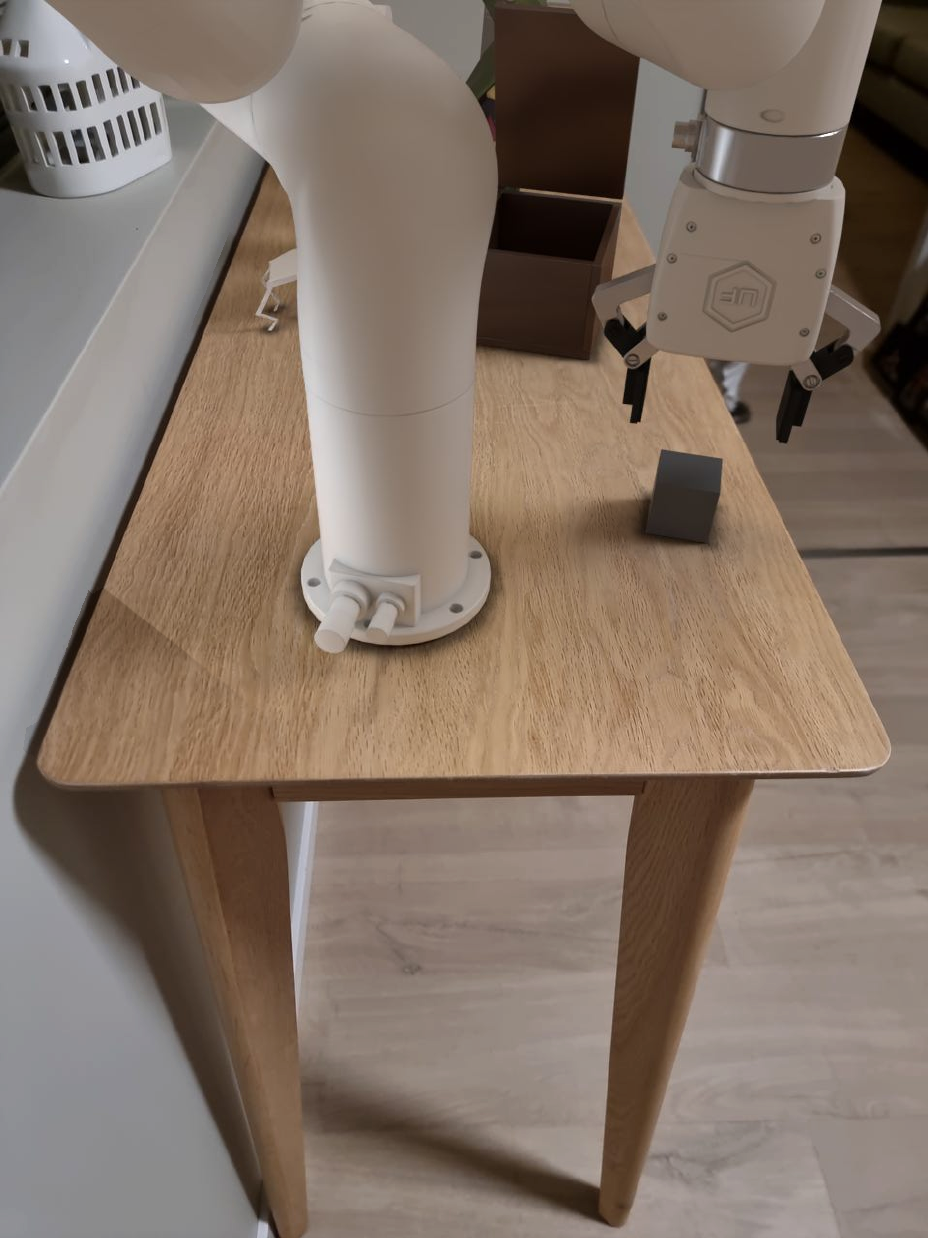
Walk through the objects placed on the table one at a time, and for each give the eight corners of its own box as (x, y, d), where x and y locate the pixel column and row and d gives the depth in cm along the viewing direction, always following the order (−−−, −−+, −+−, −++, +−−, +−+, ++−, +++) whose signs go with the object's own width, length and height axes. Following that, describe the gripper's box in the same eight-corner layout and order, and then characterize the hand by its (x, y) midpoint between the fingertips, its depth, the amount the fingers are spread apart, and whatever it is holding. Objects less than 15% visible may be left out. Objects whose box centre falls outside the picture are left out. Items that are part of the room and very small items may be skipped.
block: (707, 543, 66) (720, 493, 63) (645, 533, 67) (655, 483, 64) (710, 507, 69) (722, 458, 66) (651, 498, 70) (661, 448, 67)
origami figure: (340, 338, 87) (337, 287, 83) (252, 333, 87) (245, 282, 84) (359, 283, 95) (357, 235, 92) (279, 279, 96) (274, 231, 92)
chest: (589, 360, 85) (601, 265, 79) (456, 341, 87) (458, 248, 81) (610, 289, 96) (622, 202, 90) (492, 274, 98) (496, 187, 92)
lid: (644, 18, 75) (652, -13, 78) (493, 6, 77) (506, -24, 80) (622, 199, 89) (630, 168, 92) (495, 185, 91) (506, 155, 94)
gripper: (600, 161, 49) (572, 435, 61) (943, 190, 46) (843, 472, 58) (617, 118, 54) (588, 379, 66) (926, 142, 52) (838, 410, 63)
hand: (708, 422), depth 62 cm, fingers open, 9 cm apart
